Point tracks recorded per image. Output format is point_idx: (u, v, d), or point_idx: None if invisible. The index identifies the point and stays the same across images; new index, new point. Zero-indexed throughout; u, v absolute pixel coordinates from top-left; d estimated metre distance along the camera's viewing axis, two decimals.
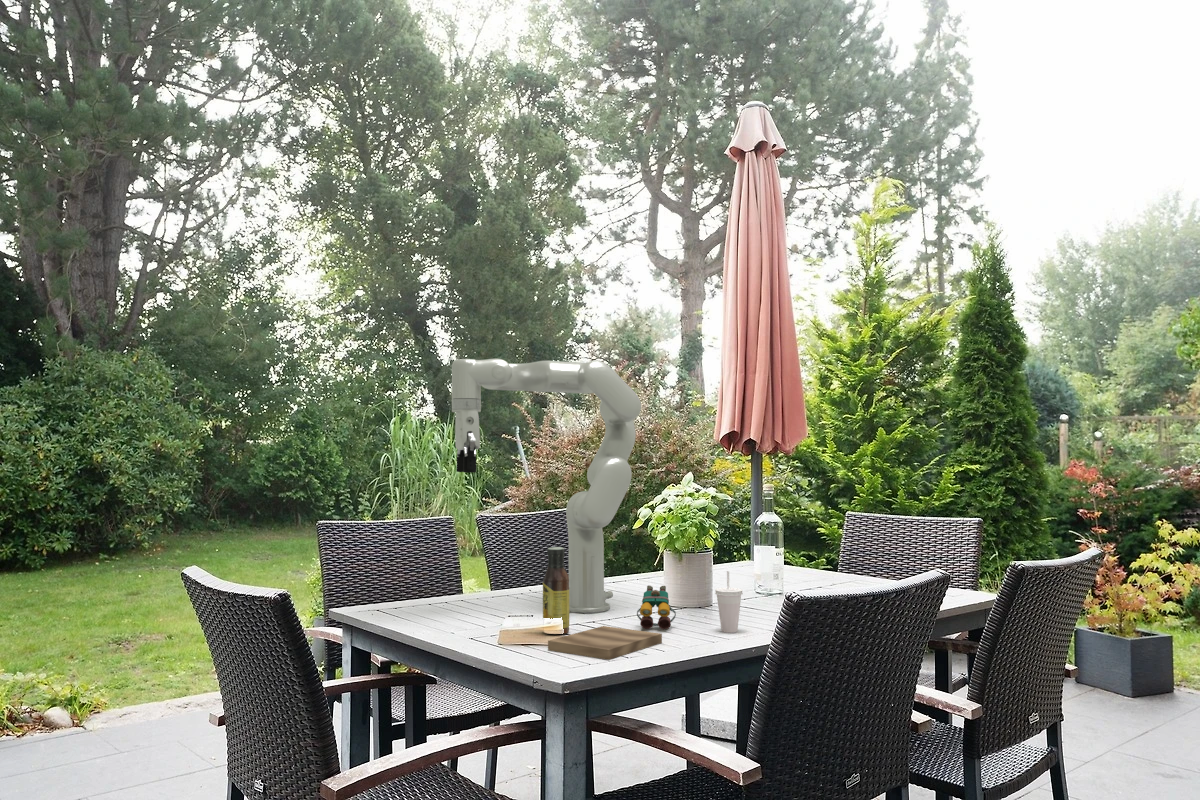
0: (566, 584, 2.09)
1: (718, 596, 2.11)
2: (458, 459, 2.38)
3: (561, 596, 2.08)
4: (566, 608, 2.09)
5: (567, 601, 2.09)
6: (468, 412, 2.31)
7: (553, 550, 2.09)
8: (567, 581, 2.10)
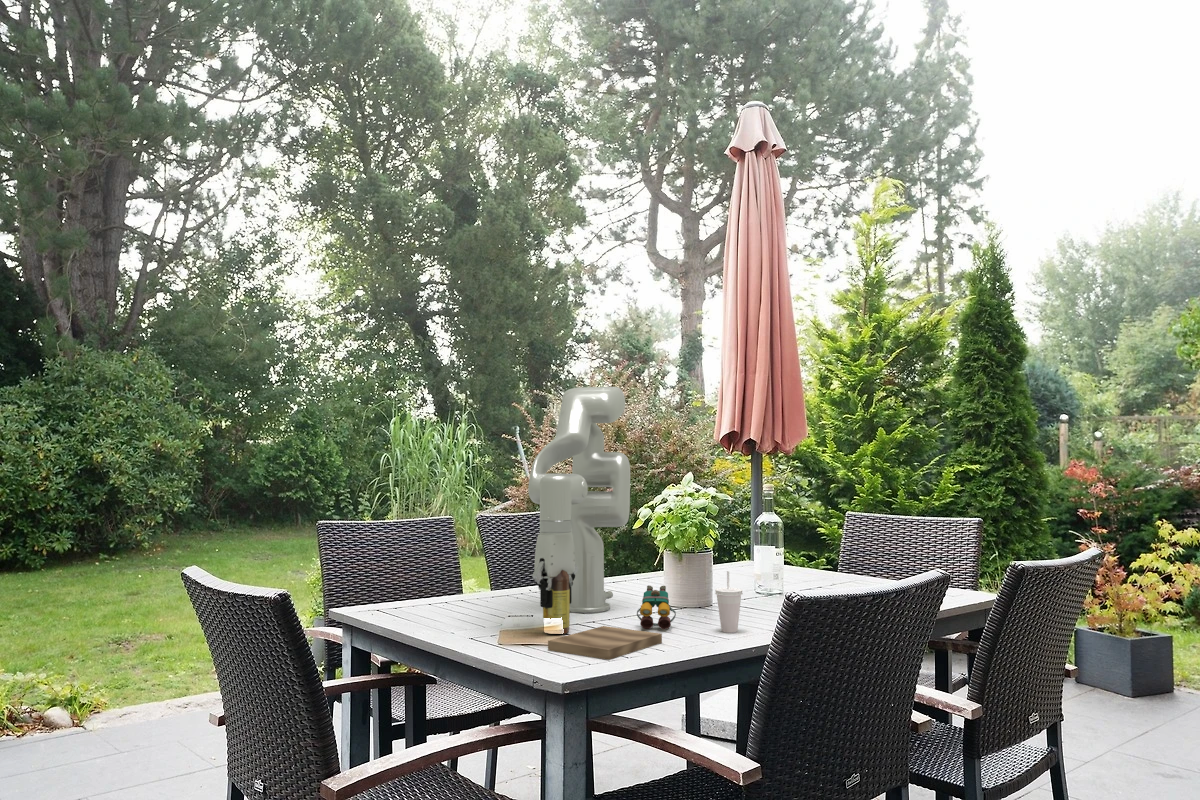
0: (566, 584, 2.09)
1: (718, 596, 2.11)
2: None
3: (561, 596, 2.08)
4: (566, 608, 2.09)
5: (567, 601, 2.09)
6: None
7: None
8: (567, 581, 2.10)
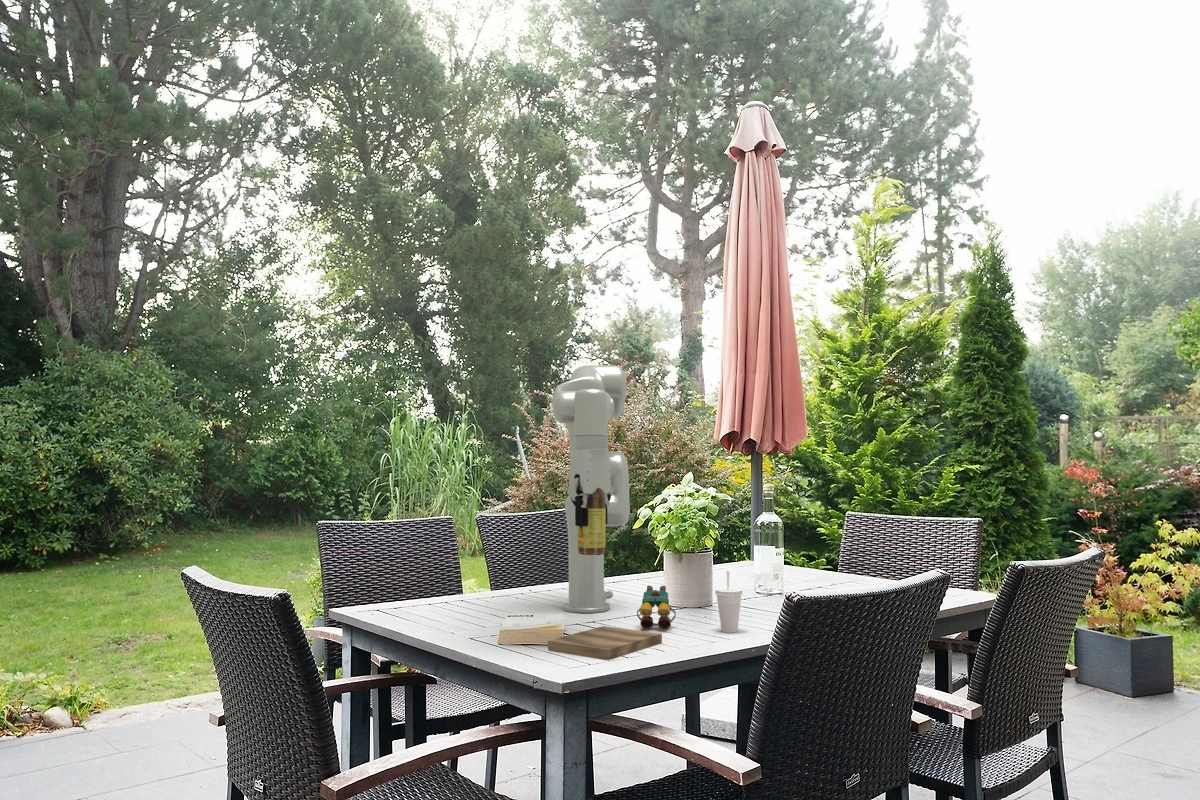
0: (602, 502, 2.00)
1: (718, 596, 2.11)
2: None
3: (597, 514, 1.98)
4: (602, 527, 1.99)
5: (603, 520, 2.00)
6: None
7: None
8: (603, 499, 2.00)
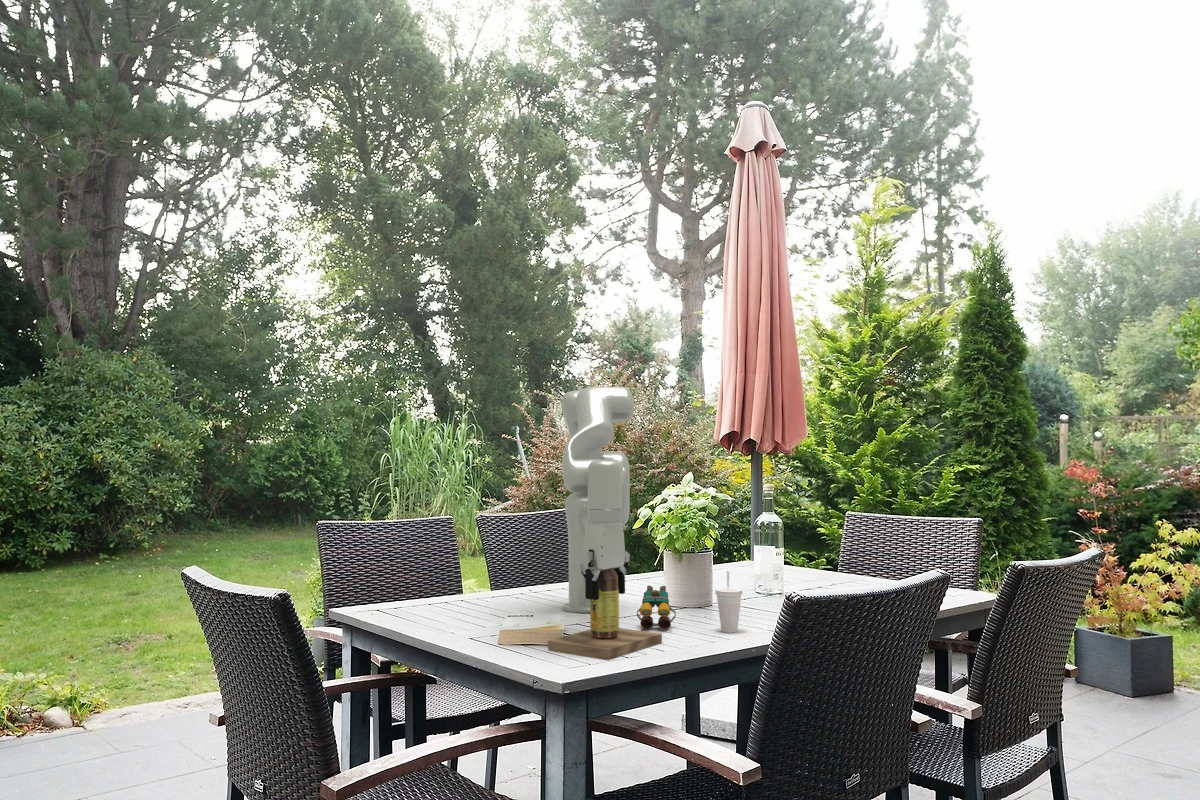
0: (615, 584, 1.95)
1: (718, 596, 2.11)
2: None
3: (610, 596, 1.93)
4: (616, 610, 1.94)
5: (617, 602, 1.95)
6: None
7: None
8: (616, 581, 1.95)
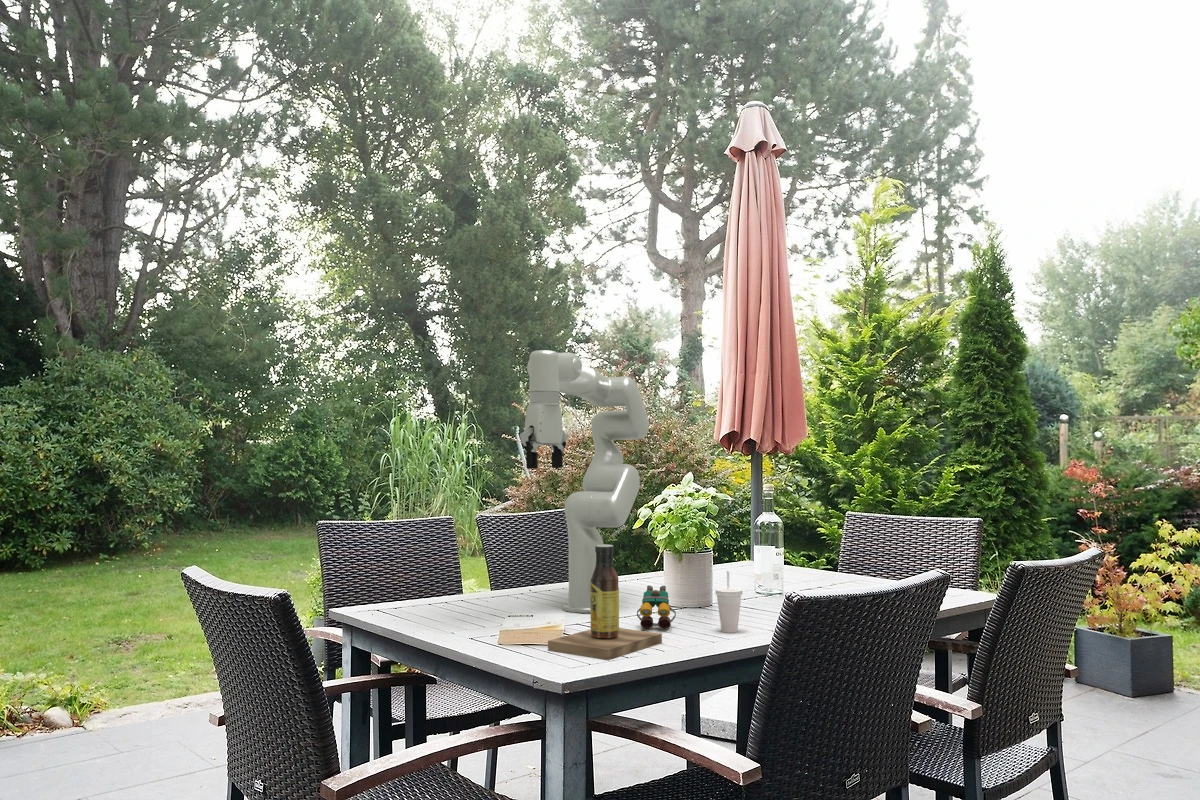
0: (616, 584, 1.95)
1: (718, 596, 2.11)
2: None
3: (610, 597, 1.93)
4: (616, 610, 1.94)
5: (617, 602, 1.95)
6: None
7: (602, 547, 1.95)
8: (617, 581, 1.95)
